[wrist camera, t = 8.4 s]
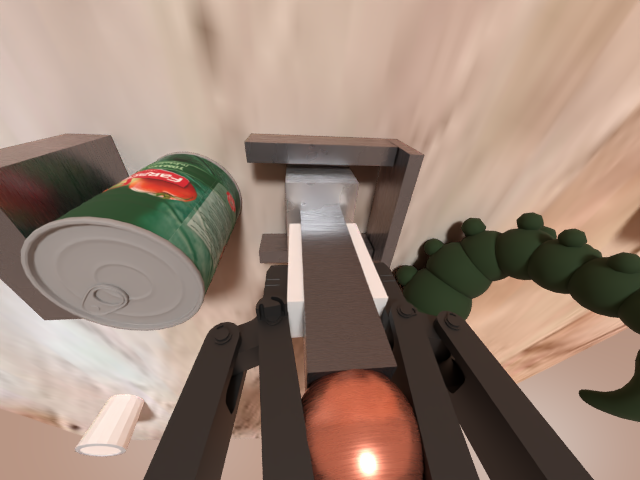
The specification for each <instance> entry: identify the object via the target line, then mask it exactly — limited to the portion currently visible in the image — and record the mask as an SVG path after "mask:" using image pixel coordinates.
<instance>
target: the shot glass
mask: <svg viewBox="0 0 640 480" xmlns="http://www.w3.org/2000/svg"><path fill="white" fill-rule="evenodd" d="M143 404H144V400H143V399H142V398H140V397H138V396H134V395H128V394H120V395H114V396H112V397H110V398H109V399H108V401H107V402H106V404H105V405H104V407H103V408H102V410H101V411H100V413H99V414H98V415H97V417H96V418H95V420H94V421H93V423H92V424H91V426H90V427H89V429H88V430H87V432H86V433H85V434H84V436H83V437H82V439H81V440H80V442H79V443H78V445H77V446H76V448H75V451H76V452H78V453H80V454H84V455H89V456H115V455H120V454H123V453H124V452H126V449H127V447H128V444H129V441H130V439H131V436H132V434H133V431H134V428H135V426H136V423H137V420H138V418H139V415H140V412H141V410H142V407H143Z"/></svg>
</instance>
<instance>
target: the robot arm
mask: <svg viewBox="0 0 640 480" xmlns="http://www.w3.org/2000/svg"><path fill="white" fill-rule="evenodd" d="M346 225H347V228H348V230H349V233H350V236H351V239H352V242H353V244H354V247H355V250H356V253H357V255H358V258H359V261H360V264H361V267H362V269H363V272H364V275H365V278H366V280H367V283H368V286H369V289H370V291H371V294H372V297H373V300H374V303H375V305H376V308H377V311H378V314H379V316H380V319H381V322H382V325H383V328H384V330H385V333H386V336H387V339H388V341H389V344H390V347H391V350H392V353H393V355H394V358H395V361H396V364H397V368H396V370H395V372H394V374H393V376H392V378H391V380H392V381H393V382H394V383H395V384H396V385H397V386H398V388H399V389H400V390H401V391H402V392H403V394H404V395H405V397H406V398H407V399H408V401H409V403H410V405H411V407H412V409H413V412H414V414H415V417H416V421H417V424H418V428H419V432H420V437H421V443H422V450H423V461H424V479H423V480H479V477H478V474H477V472H476V469H475V466H474V463H473V460H472V458H471V455H470V452H469V449H468V447H467V444H466V441H465V438H464V436H463V433H462V430H461V427H462V429H463V431H464V433H465V435H466V436H467V438H468V440H469V442H470V444H471V446H472V447H473V449H474V451H475V453H476V454H477V456H478V458H479V460H480V462H481V464H482V465H483V467H484V469H485V471H486V473H487V474H488V476H489V478H490V480H594V479H593V478H592V477H591V476H590V474H589V473H588V472H587V471H586V470H585V468H583V466H582V465H581V463H580V462H579V461H578V460H577V458H576V457H575V456H574V455H573V454H572V452H571V451H570V450H569V449H568V447H567V446H566V445H565V444H564V442H563V441H562V440H561V439H560V437H559V436H558V435H557V434H556V432H555V431H554V430H553V429H552V428H551V426H550V425H549V424H548V423H547V421H546V420H545V419H544V418H543V417H542V415H541V414H540V413H539V411H538V410H537V409H536V408H535V407H534V405H533V404H532V403H531V402H530V400H529V399H528V398H527V397H526V396H525V394H524V393H523V392H522V391H521V389H520V388H519V387H518V386H517V384H516V383H515V382H514V381H513V379H512V378H511V377H510V376H509V374H508V373H507V372H506V371H505V370H504V368H503V367H502V366H501V365H500V363H499V362H498V361H497V360H496V358H495V357H494V356H493V355H492V353H491V352H490V351H489V350H488V349H487V347H486V346H485V345H484V344H483V342H482V341H481V340H480V339H479V337H478V336H477V335H476V334H475V332H474V331H473V330H472V329H471V328H470V326H469V325H468V324H467V323H466V321H465V320H464V319H463V318H462V317H461V316H459V315H457V314H456V313H453V312H450V311H442V312H440V313H439V314H438V315H437V316H433V315H429V314H425V313H421V312H419V311H418V310H417V309H416V308H415V307H414V306H413V305H412V304H410V303H408V302H407V301H406V299H405V297H404V295H403V293H402V292H401V290H400V288H399V286H398V284H397V282H396V280H395V278H394V276H393V274H392V272H391V270H390V268H389V267H388V266H387V265H386V264H384V263H383V262H379V263H373V262H372V259H371V257H370V255H369V252H368V250H367V248H366V246H365V243H364V241H363V239H362V236H361V234H360V232H359V229H358V227H357V225H356V223H346ZM256 314H257V317H256V318H255V319H253V320H252V321H249V322H247V323H244V324H241V325H238V326H237V325H235V324H234V323H231V322H224V323H220V324H218V325H216V326H215V327H213V328H212V329H211V330H210V331H209V333H208V334H207V336H206V338H205V340H204V343H203V345H202V347H201V349H200V352H199V354H198V356H197V358H196V361H195V363H194V365H193V368H192V370H191V372H190V374H189V377H188V379H187V381H186V384H185V386H184V388H183V390H182V393H181V395H180V397H179V400H178V402H177V404H176V406H175V409H174V411H173V413H172V416H171V418H170V420H169V422H168V425H167V427H166V429H165V431H164V434H163V436H162V438H161V441H160V443H159V445H158V447H157V450H156V452H155V454H154V457H153V459H152V461H151V463H150V466H149V468H148V470H147V473H146V475H145V477H144V479H143V480H220V479H221V475H222V470H223V467H224V462H225V458H226V454H227V450H228V446H229V442H230V438H231V434H232V430H233V426H234V422H235V417H236V413H237V409H238V405H239V401H240V397H241V393H242V389H243V385H244V381H245V377H246V373H247V370H249V369H251V368H253V367H256V366H258V365H259V374H260V405H261V435H262V466H263V480H314V476H313V469H312V463H311V457H310V451H309V446H308V442H307V434H306V426H305V419H304V413H303V407H302V401H301V394H300V388H299V382H298V376H297V370H296V363H295V357H294V351H293V345H292V338H294V337H304V285H303V262H302V239H301V224H289V254H288V265H274V266H271V267H270V268H269V270H268V271H267V274H266V281H265V288H264V295H263V298H262V299H260V300H259V302H258V303H257V305H256ZM460 425H461V427H460Z"/></svg>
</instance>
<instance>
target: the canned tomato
mask: <svg viewBox="0 0 640 480" xmlns="http://www.w3.org/2000/svg"><path fill="white" fill-rule="evenodd" d="M241 207H242V198H241V194H240V190H239V188H238V186H237V183H236V182H235V180H234V179H233V177H232V176H231V175H230V174H229V173H228V172H227V171H226V170H225V168H223V167H222V166H221V165H219V164H218V163H217V162H215V161H213V160H211V159H209V158H208V157H205V156H202V155H199V154H196V153H190V152H175V153H171V154H167V155H165V156H163V157H161V158H159V159H158V160H157V161H156V162H154V163H152V164H150V165H148V166H147V167H145V168H143V169H141V170H140V171H138V172H136V173H135V174H133V175H131V176H129V177H128V178H126V179H124V180H122V181H121V182H119V183H117V184H115V185H113V186H112V187H111V188H109V189H107V190H105V191H103V192H102V193H100V194H98V195H96V196H94V197H93V198H92V199H90V200H88V201H86V202H84V203H82V204H81V205H80V206H78V207H76V208H74V209H72V210H70V211H69V212H67V213H66V214H64V215H63V216H61V217H60V218H58V219H56V220H55V221H52V222H49V223H47V224H45V225H43V226H41V227H39V228H38V229H36V230H35V231H33V232H32V233H31V234H30V235H29V237H28V238H27V239H26V240H25V241H24V244H23V246H22V249H21V264H22V266H23V269H24V271H25V274H26V276H27V277H28V278H29V280H30V281H31V283H32V284H33V285H34V287H35V288H36V289H38V290H39V291H40V292H41V293H42V294H43V295H44V296H45V297H46V298H48V299H49V300H50V301H52V302H53V303H55V304H56V305H57V306H59V307H61V308H63V309H65V310H66V311H68V312H70V313H72V314H74V315H76V316H79V317H81V318H84V319H86V320H89V321H92V322H95V323H98V324H101V325H105V326H110V327H114V328H119V329H127V330H144V331H148V330H160V329H165V328H170V327H173V326H176V325H179V324H181V323H184V322H185V321H187V320H189V319H190V318H192V317H193V316H194V315H195V314H196V313H197V312H198V311H199V309H200V307H201V305H202V303H203V301H204V296H205V294H206V291H207V289H208V287H209V285H210V283H211V281H212V277H213V275H214V273H215V271H216V268H217V266H218V264H219V261H220V259H221V257H222V254H223V252H224V249H225V247H226V245H227V242H228V240H229V238H230V235H231V233H232V230H233V228H234V225H235V223H236V220H237V219H238V217H239V215H240V211H241Z"/></svg>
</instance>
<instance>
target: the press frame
mask: <svg viewBox="0 0 640 480" xmlns="http://www.w3.org/2000/svg"><path fill="white" fill-rule="evenodd" d="M245 149H246V157H247V163H286V164H325V165H364V166H380V169H379V174H378V178H377V183H376V188H375V193H374V198H373V203H372V208H371V213H370V218H369V223H368V227H367V232H366V233H360V234H361V236H362V239H363V241H364V243H365V246H366V248H367V250H368V252H369V255H370V257H371V259H372V262H373V263H379V262H383V263H384V264H386V265H387V266H388V267H389V268H390V265H391V262H392V258H393V255H394V252H395V249H396V245H397V242H398V239H399V236H400V232H401V229H402V226H403V223H404V219H405V216H406V213H407V210H408V206H409V203H410V200H411V197H412V194H413V190H414V187H415V184H416V181H417V177H418V174H419V171H420V168H421V164H422V161H423V158H424V154H422V153H420V152H418V151H417V150H415V149H413V148H411V147H410V146H408V145H406V144H404V143H403V142H401V141H399V140H397V139H378V138H352V137H327V136H301V135H275V134H251V135H250V136H249V137H248V138H247V139H246V141H245ZM128 177H129V176H128V174H127V171H126V169H125V167H124V165H123V162H122V160H121V158H120V156H119V153H118V151H117V149H116V147H115V144H114V142H113V140H112V138H111V135H90V134H63V135H59V136H54V137H50V138H46V139H41V140H37V141H33V142H28V143H24V144H20V145H15V146H11V147H7V148H2V149H0V279H1V280H2V281H3V282H4V283H6V284H7V285H8V286H9V287H10V288H11V289H12V290H13V291H14V292H15V293H16V294H17V295H18V296H19V297H20V298H21V299H23V300H24V301H25V302H26V303H27V304H28V305H29V306H30V307H31V308H32V309H33V310H34V311H35V312H36V313H37V314H38V315H40V316H41V317H42V318H43V319H44V320H61V319H84V318H81V317H79V316H76V315H74V314H72V313H70V312H68V311H66V310H65V309H63V308H61V307H59V306H57V305H56V304H55V303H53V302H52V301H50V300H49V299H48V298H46V297H45V296H44V295H43V294H42V293H41V292H40V291H39V290H38V289H36V288H35V287H34V285H33V284H32V283H31V281H30V280H29V278H28V277H27V276H26V274H25V271H24V269H23V266H22V264H21V249H22V246H23V244H24V241H25V240H26V239H27V238H28V237H29V235H30V234H31V233H32V232H33V231H35V230H36V229H38V228H39V227H41V226H43V225H45V224H47V223H49V222H52V221H55V220H56V219H58V218H60V217H61V216H63V215H64V214H66V213H67V212H69V211H70V210H72V209H74V208H76V207H78V206H80V205H81V204H82V203H84V202H86V201H88V200H90V199H92V198H93V197H94V196H96V195H98V194H100V193H102V192H103V191H105V190H107V189H109V188H111V187H112V186H113V185H115V184H117V183H119V182H121V181H122V180H124V179H126V178H128ZM259 256H260V263H288V243H287V234H263V235H262V240H261V244H260V249H259Z"/></svg>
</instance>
